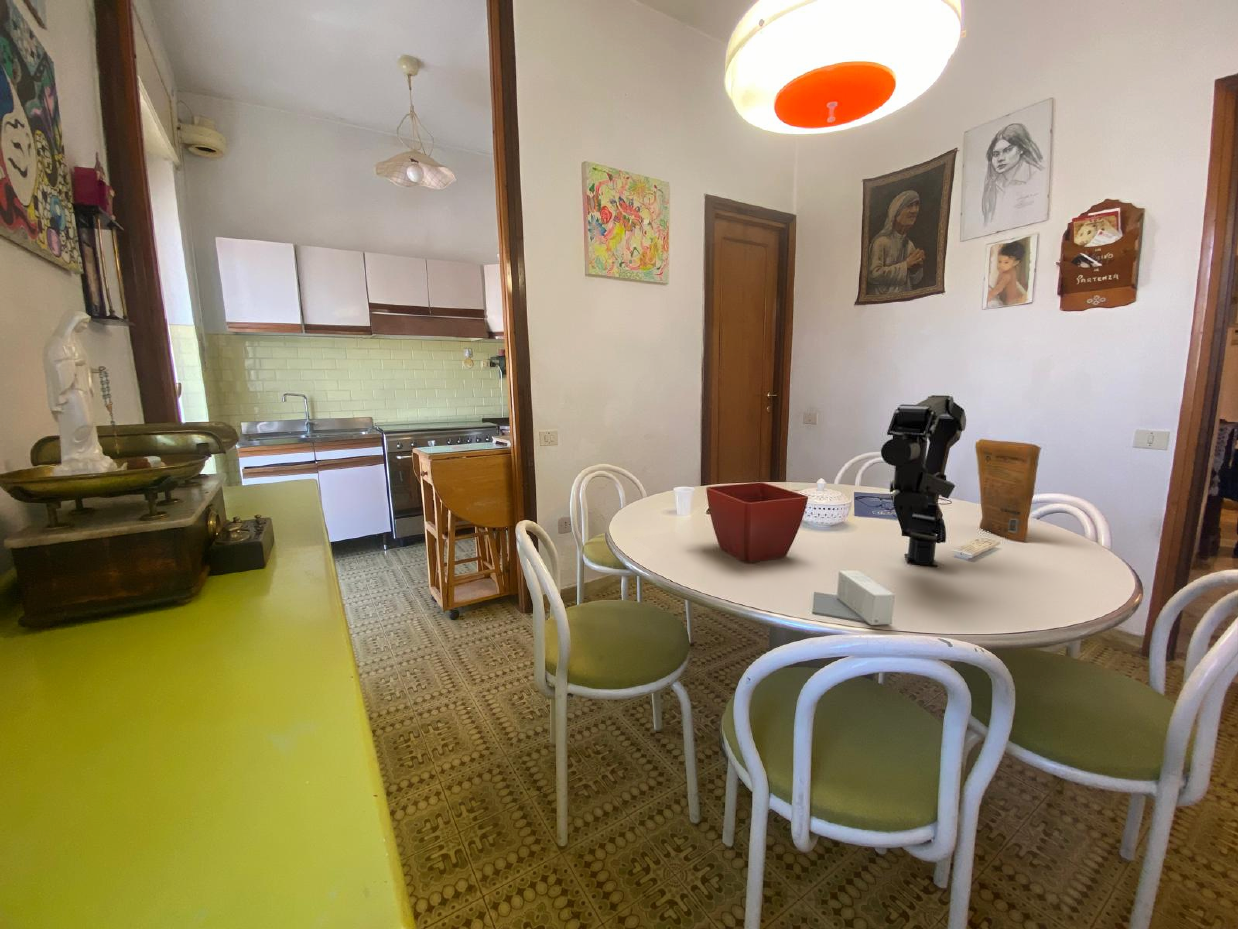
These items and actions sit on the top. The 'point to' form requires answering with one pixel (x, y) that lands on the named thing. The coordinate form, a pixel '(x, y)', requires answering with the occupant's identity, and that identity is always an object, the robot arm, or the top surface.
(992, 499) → the pancake mix bag
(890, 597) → the skincare box
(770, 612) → the top surface
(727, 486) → the plant pot
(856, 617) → the mat
